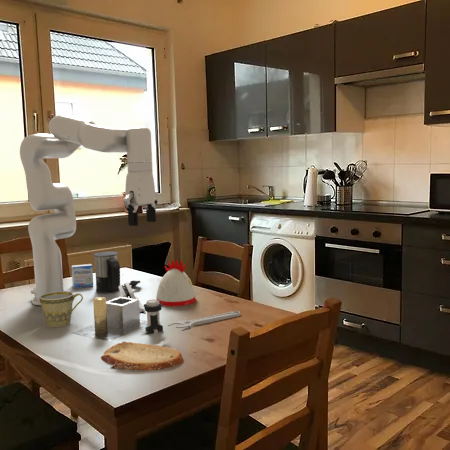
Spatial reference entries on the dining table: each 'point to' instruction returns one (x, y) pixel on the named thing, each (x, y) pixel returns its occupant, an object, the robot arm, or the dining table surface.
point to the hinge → (130, 295)
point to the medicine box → (82, 275)
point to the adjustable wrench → (205, 320)
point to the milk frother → (108, 272)
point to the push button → (153, 317)
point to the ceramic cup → (58, 307)
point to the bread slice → (141, 357)
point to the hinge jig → (117, 319)
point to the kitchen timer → (175, 287)
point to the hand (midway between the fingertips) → (142, 223)
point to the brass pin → (100, 315)
